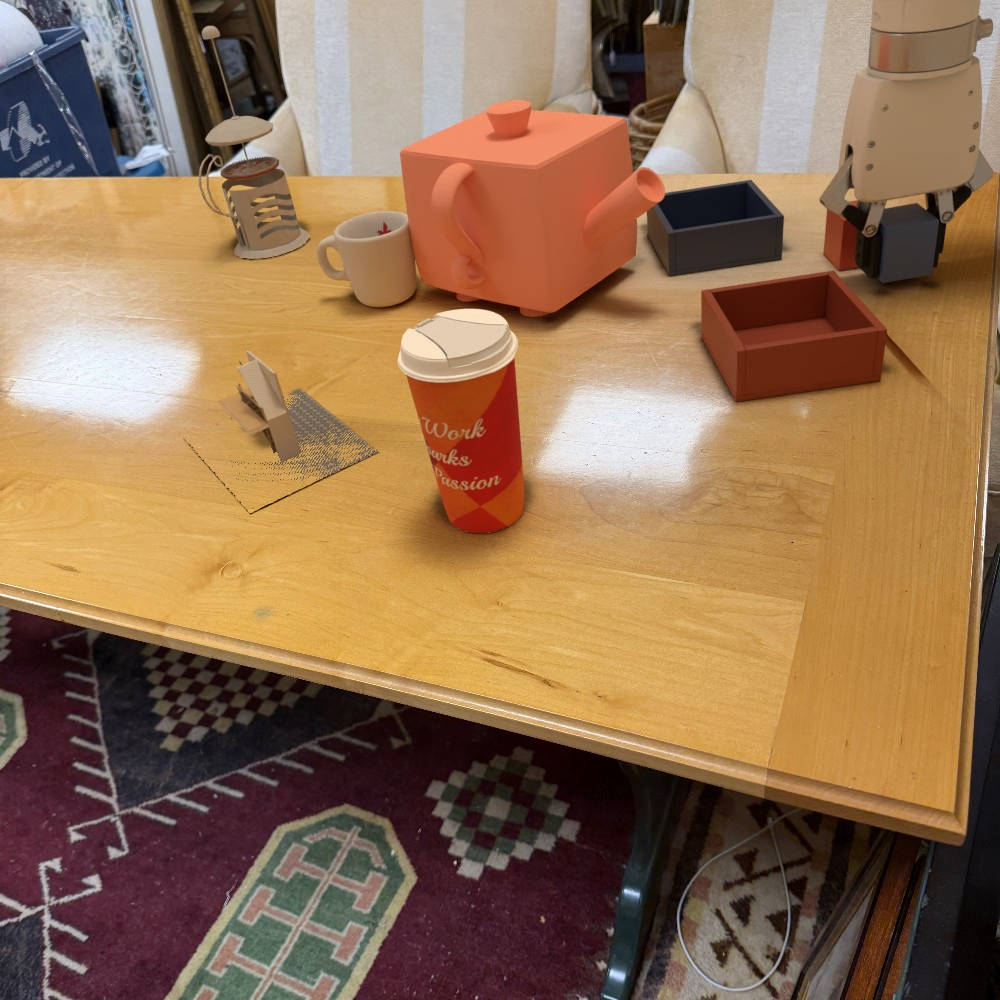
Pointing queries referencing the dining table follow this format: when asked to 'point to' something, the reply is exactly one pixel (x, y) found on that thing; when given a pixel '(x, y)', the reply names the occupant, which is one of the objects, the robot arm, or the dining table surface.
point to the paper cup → (469, 414)
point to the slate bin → (715, 228)
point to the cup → (374, 257)
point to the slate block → (907, 242)
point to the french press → (253, 173)
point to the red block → (840, 241)
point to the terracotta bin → (791, 336)
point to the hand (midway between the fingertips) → (897, 265)
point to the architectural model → (288, 420)
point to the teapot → (525, 205)
